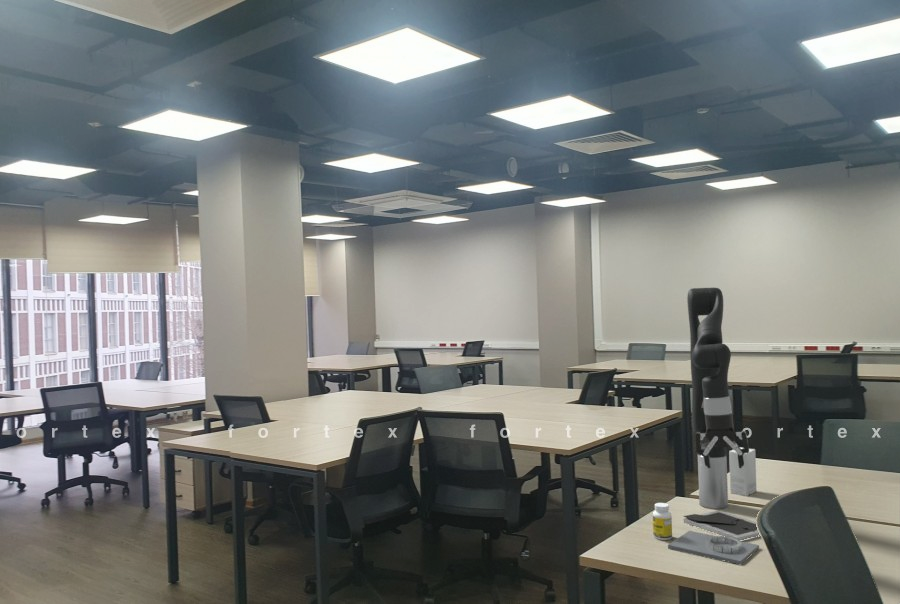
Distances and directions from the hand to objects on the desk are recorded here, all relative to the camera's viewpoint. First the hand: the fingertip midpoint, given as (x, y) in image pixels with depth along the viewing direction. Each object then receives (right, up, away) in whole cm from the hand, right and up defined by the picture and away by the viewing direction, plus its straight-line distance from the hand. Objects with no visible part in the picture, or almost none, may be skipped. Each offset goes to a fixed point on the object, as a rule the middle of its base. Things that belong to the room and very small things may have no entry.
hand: (724, 467), depth 193 cm
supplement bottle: (-17, -22, +4) cm, 28 cm away
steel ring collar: (-3, -21, -8) cm, 23 cm away
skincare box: (+27, -21, +47) cm, 58 cm away
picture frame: (+6, -22, +11) cm, 25 cm away
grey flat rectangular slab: (-6, -22, -6) cm, 23 cm away
